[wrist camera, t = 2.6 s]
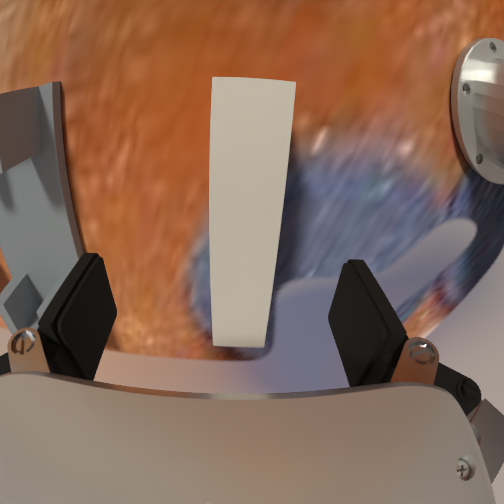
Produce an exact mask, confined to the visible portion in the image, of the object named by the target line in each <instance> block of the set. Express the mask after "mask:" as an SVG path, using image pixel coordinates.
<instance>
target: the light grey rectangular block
mask: <svg viewBox="0 0 504 504" xmlns="http://www.w3.org/2000/svg"><path fill="white" fill-rule="evenodd" d="M295 88H296V82H291V81H281V80H271V79H257V78H238V77H212V98H211V125H210V172H209V233H210V281H211V310H212V332H213V346H228V347H260V348H264V344H265V337H266V330H267V323H268V317H269V310H270V303H271V295H272V288H273V281H274V274H275V266H276V259H277V251H278V243H279V235H280V227H281V219H282V211H283V203H284V194H285V185H286V176H287V168H288V158H289V149H290V139H291V130H292V120H293V109H294V99H295Z"/></svg>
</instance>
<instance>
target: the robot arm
mask: <svg viewBox="0 0 504 504" xmlns="http://www.w3.org/2000/svg"><path fill="white" fill-rule="evenodd" d="M451 109H452V120H453V124H454V129H455V134H456V137H457V140H458V143H459V146H460V149H461V151H462V153H463V155H464V157H465V159H466V161H467V162H468V163H469V165H470V166H471V167H472V169H473V170H474V171H475V172H477V173H478V174H479V175H480V176H481V177H483V178H485V179H486V180H488V181H490V182H492V183H495V184H504V41H502V40H499V39H496V38H480V39H476V40H474V41H472V42H470V43H469V44H468V45H467V46H466V47H465V48H464V49H463V50H462V52H461V54H460V56H459V58H458V60H457V62H456V66H455V69H454V72H453V78H452V85H451ZM116 316H117V308H116V305H115V302H114V298H113V295H112V291H111V288H110V284H109V280H108V277H107V273H106V269H105V265H104V261H103V258H102V257H99V255H98V254H97V253H84V254H83V255H82V256H81V257H80V259H79V260H78V262H77V263H76V264H75V266H74V267H73V269H72V270H71V271H70V273H69V274H68V276H67V277H66V279H65V280H64V282H63V283H62V285H61V286H60V288H59V289H58V291H57V292H56V294H55V295H54V297H53V299H52V300H51V302H50V303H49V305H48V307H47V308H46V310H45V311H44V313H43V315H42V316H41V318H40V320H39V322H38V325H39V327H38V328H37V330H35V329H34V328H30V327H29V328H23V329H20V330H18V331H17V332H15V333H14V334H13V335H12V337H11V338H10V340H9V342H8V352H7V353H5V354H4V355H2V356H0V504H496V503H495V499H494V494H493V489H492V486H491V484H492V483H493V481H494V479H495V477H496V475H497V474H498V472H499V470H500V468H501V466H502V464H503V462H504V415H502V413H500V412H499V411H498V410H497V409H496V408H495V407H494V406H493V405H492V404H491V403H490V402H489V401H487V400H486V399H484V400H483V401H482V400H481V391H480V389H479V387H478V385H477V384H476V383H475V382H474V381H473V380H472V379H470V378H468V377H466V376H464V375H462V374H460V373H458V372H456V371H455V370H453V369H451V368H449V367H447V366H445V365H443V364H441V363H439V354H438V350H437V349H436V347H435V346H434V345H433V344H432V343H431V342H430V341H428V340H426V339H424V338H420V337H414V338H410V339H409V338H408V336H407V334H406V333H407V332H406V330H405V329H404V327H403V325H402V323H401V321H400V320H399V318H398V316H397V314H396V313H395V311H394V309H393V307H392V306H391V304H390V302H389V301H388V299H387V297H386V295H385V294H384V292H383V290H382V289H381V287H380V286H379V284H378V282H377V281H376V279H375V277H374V276H373V274H372V273H371V271H370V269H369V268H368V266H367V265H366V263H365V262H364V260H353V259H350V260H348V262H347V263H344V264H343V267H342V270H341V274H340V277H339V281H338V285H337V288H336V291H335V295H334V298H333V301H332V304H331V308H330V311H329V315H328V319H329V324H330V327H331V330H332V333H333V336H334V339H335V342H336V345H337V348H338V350H339V354H340V357H341V360H342V363H343V366H344V369H345V373H346V376H347V379H348V382H349V385H350V387H348V388H339V389H329V390H319V391H307V392H292V393H271V394H212V393H211V394H210V393H191V392H176V391H164V390H153V389H144V388H136V387H129V386H122V385H114V384H109V383H103V382H96V381H93V380H94V377H95V374H96V371H97V368H98V365H99V362H100V359H101V356H102V353H103V351H104V348H105V345H106V342H107V340H108V337H109V334H110V332H111V329H112V327H113V324H114V322H115V319H116Z"/></svg>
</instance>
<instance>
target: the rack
mask: <svg viewBox="0 0 504 504" xmlns="http://www.w3.org/2000/svg"><path fill="white" fill-rule="evenodd" d="M0 247H1V250H2V253H3V256H4V258H5V261H6V264H7V266H8V269H9V271H10V273H11V276H12V279H11V281H10V282H9V283H8V284H7V286H6V287H5V288H4V289H3V291H2V292H1V293H0V315H1V316H2V318H3V320H4V322H5V323H6V325H7V327H8V329H9V330H10V332H11V333H12V335H13V334H14V333H15V332H17V331H18V330H20V329H23V328H29V327H30V328H34V329H35V330H37V328H38V327H39V325H38V322H39V320H40V318H41V316H42V315H43V313H44V311H45V310H46V308H47V307H48V305H49V303H50V302H51V300H52V299H53V297H54V295H55V294H56V292H57V291H58V289H59V288H60V286H61V285H62V283H63V282H64V280H65V279H66V277H67V276H68V274H69V273H70V271H71V270H72V269H73V267H74V266H75V264H76V263H77V262H78V260H79V259H80V257H81V256H82V255H83V254H84V252H83V248H82V244H81V240H80V236H79V232H78V228H77V223H76V219H75V214H74V209H73V204H72V199H71V194H70V188H69V182H68V176H67V169H66V161H65V153H64V144H63V134H62V120H61V98H60V81H59V82H51V83H48V84H45V85H41V86H38V87H32V88H26V89H21V90H16V91H11V92H7V93H2V94H0Z"/></svg>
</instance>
